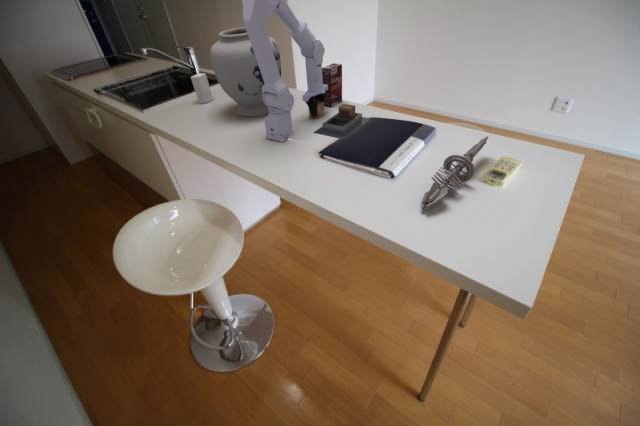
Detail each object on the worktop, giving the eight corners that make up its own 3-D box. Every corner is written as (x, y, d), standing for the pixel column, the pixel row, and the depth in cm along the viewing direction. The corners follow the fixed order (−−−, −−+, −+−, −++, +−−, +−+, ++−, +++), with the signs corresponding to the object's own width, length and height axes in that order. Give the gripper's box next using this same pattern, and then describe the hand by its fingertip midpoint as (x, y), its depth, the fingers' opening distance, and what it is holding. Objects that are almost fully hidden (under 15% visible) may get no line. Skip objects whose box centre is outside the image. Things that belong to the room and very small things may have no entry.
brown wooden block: (350, 125, 105) (350, 109, 101) (338, 123, 107) (337, 107, 103) (355, 121, 107) (355, 105, 104) (343, 119, 110) (343, 103, 106)
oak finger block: (319, 120, 113) (318, 105, 109) (309, 118, 115) (308, 103, 111) (325, 117, 115) (324, 102, 111) (314, 115, 117) (313, 100, 113)
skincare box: (206, 99, 142) (198, 72, 134) (214, 99, 141) (206, 73, 133) (198, 103, 138) (189, 76, 130) (206, 104, 136) (197, 76, 128)
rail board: (345, 142, 97) (345, 132, 95) (313, 135, 103) (312, 125, 101) (370, 120, 109) (371, 111, 107) (340, 115, 115) (340, 106, 113)
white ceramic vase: (277, 122, 114) (263, 34, 95) (215, 121, 118) (190, 37, 99) (292, 99, 134) (283, 22, 115) (239, 99, 139) (221, 26, 119)
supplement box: (331, 110, 120) (330, 69, 110) (322, 108, 123) (320, 68, 113) (343, 103, 125) (342, 64, 115) (333, 102, 128) (332, 62, 118)
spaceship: (509, 135, 77) (483, 118, 79) (447, 208, 61) (417, 185, 63) (489, 154, 84) (466, 139, 86) (429, 226, 68) (403, 204, 70)
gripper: (312, 84, 99) (315, 122, 108) (334, 73, 108) (335, 109, 117) (296, 82, 102) (300, 119, 111) (318, 71, 111) (320, 106, 120)
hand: (317, 113), depth 114 cm, fingers closed on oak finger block, 4 cm apart
